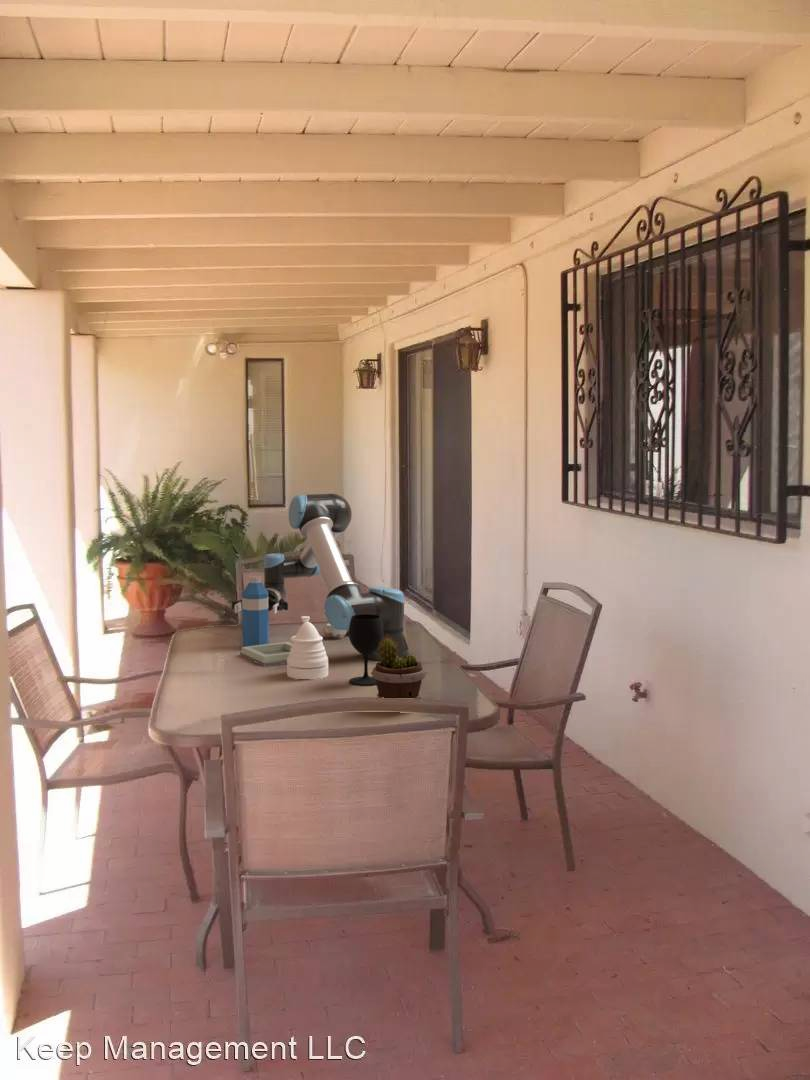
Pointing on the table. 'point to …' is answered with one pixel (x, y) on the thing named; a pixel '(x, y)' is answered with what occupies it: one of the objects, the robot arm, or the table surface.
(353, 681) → the wine glass
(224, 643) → the table surface
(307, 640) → the honey pot
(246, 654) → the pale green tray
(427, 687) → the table surface
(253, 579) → the water bottle
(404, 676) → the flowerpot
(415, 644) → the table surface
